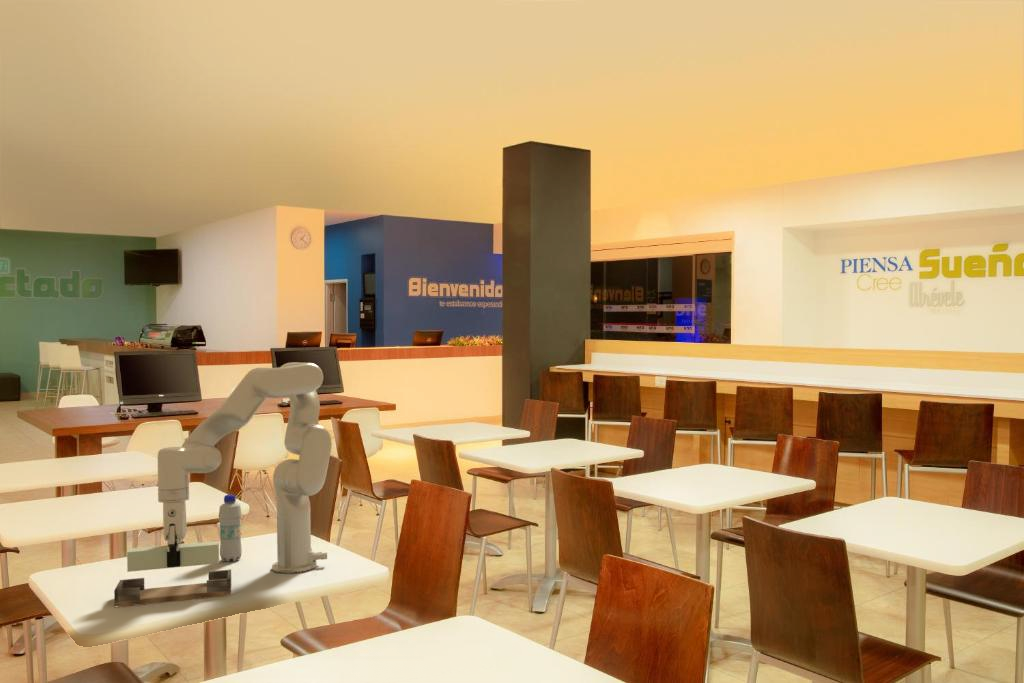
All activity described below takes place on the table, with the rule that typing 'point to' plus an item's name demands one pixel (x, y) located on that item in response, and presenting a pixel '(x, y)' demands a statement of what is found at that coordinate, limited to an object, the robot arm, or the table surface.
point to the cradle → (172, 590)
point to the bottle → (230, 529)
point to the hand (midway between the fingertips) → (174, 563)
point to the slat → (158, 556)
